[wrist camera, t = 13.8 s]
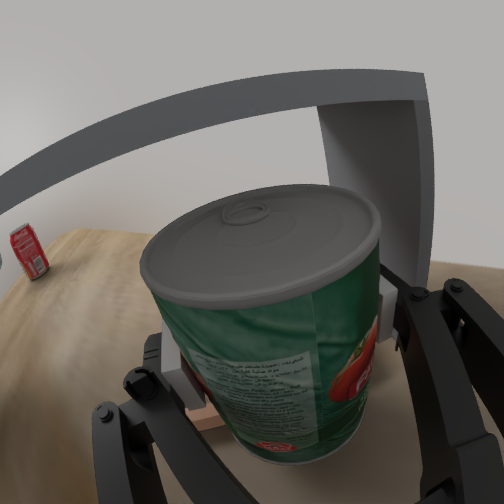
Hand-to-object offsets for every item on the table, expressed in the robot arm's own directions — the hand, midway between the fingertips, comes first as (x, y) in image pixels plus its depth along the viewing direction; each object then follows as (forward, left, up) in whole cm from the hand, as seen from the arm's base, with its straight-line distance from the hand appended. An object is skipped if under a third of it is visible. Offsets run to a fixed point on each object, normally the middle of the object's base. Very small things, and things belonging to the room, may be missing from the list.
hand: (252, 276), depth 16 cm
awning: (0, +3, -9) cm, 9 cm away
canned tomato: (0, -5, -6) cm, 8 cm away
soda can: (-44, +42, -9) cm, 62 cm away
